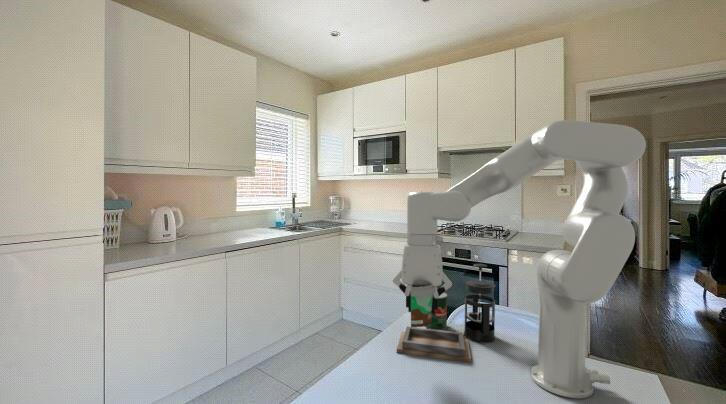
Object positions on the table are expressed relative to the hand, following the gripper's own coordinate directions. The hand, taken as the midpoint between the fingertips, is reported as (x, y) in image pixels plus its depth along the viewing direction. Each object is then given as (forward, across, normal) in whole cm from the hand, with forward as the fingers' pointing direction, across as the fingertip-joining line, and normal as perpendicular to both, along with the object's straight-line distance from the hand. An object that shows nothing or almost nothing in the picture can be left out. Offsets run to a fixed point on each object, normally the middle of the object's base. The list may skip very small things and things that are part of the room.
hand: (421, 310), depth 80 cm
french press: (+15, -17, -24) cm, 33 cm away
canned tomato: (+15, -3, -29) cm, 33 cm away
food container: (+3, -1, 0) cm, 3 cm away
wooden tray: (+15, -3, -13) cm, 20 cm away
